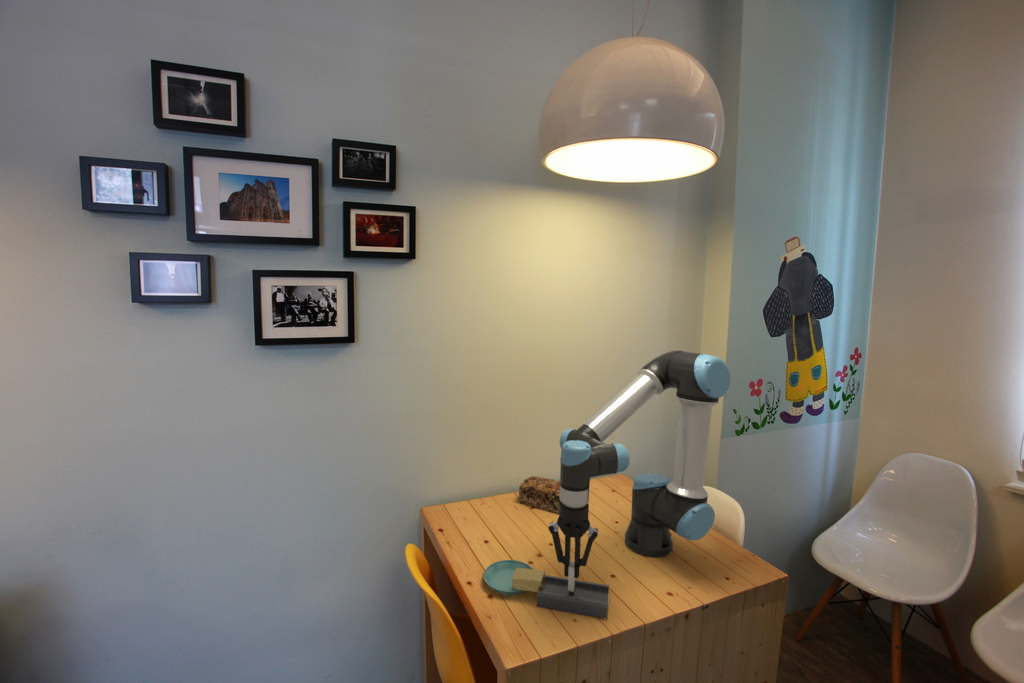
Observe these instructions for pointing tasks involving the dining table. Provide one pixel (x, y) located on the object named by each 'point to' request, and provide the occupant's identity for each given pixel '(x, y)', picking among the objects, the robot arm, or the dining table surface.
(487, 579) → the saucer
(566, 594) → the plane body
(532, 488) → the bread
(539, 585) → the tan rectangular block
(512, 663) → the dining table surface
